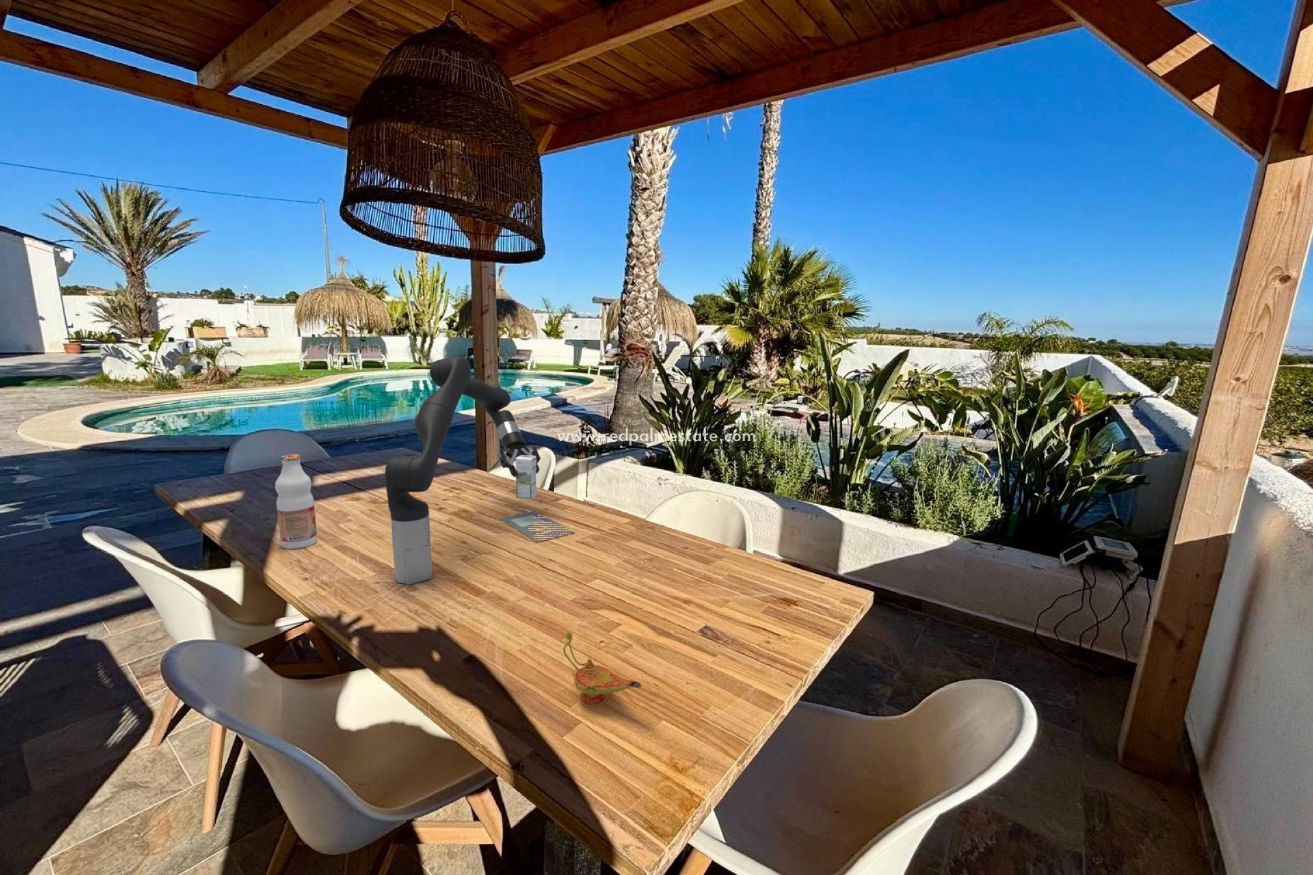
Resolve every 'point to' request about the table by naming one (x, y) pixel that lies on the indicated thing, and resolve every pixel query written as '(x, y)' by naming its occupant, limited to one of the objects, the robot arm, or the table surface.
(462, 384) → the robot arm
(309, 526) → the fruit juice
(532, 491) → the syrup box
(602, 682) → the magic lamp
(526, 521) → the mat
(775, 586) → the table surface
